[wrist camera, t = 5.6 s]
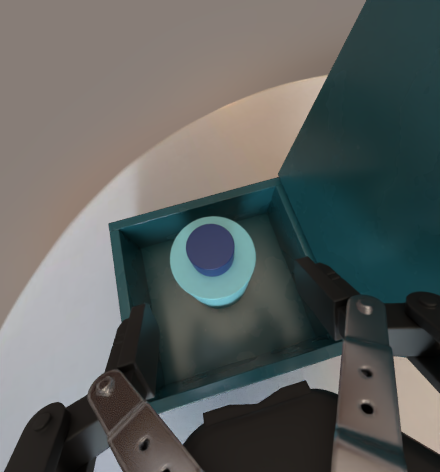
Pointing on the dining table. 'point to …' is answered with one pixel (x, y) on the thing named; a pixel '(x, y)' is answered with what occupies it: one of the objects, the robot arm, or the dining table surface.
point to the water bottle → (213, 261)
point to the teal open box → (226, 319)
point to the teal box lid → (375, 155)
